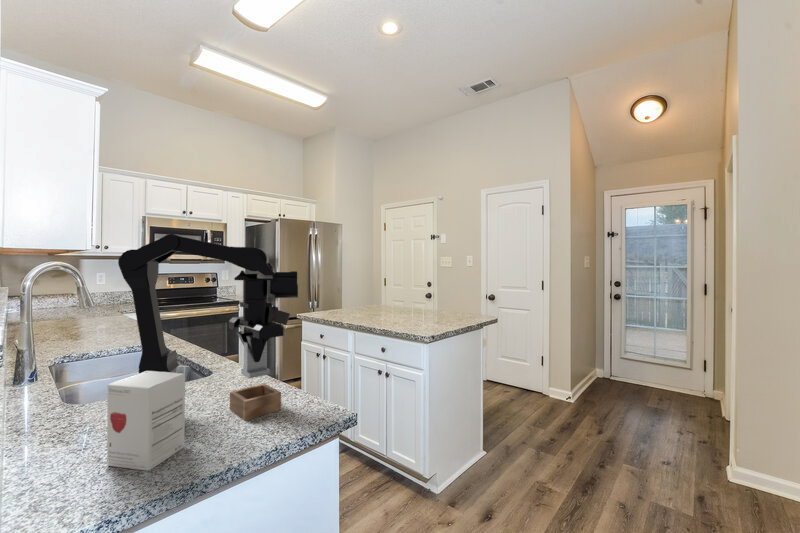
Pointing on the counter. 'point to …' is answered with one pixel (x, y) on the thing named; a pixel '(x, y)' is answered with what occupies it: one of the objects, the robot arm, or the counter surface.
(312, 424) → the counter surface
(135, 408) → the supplement box
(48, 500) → the counter surface
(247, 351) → the bracket
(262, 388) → the square frame
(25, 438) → the counter surface
